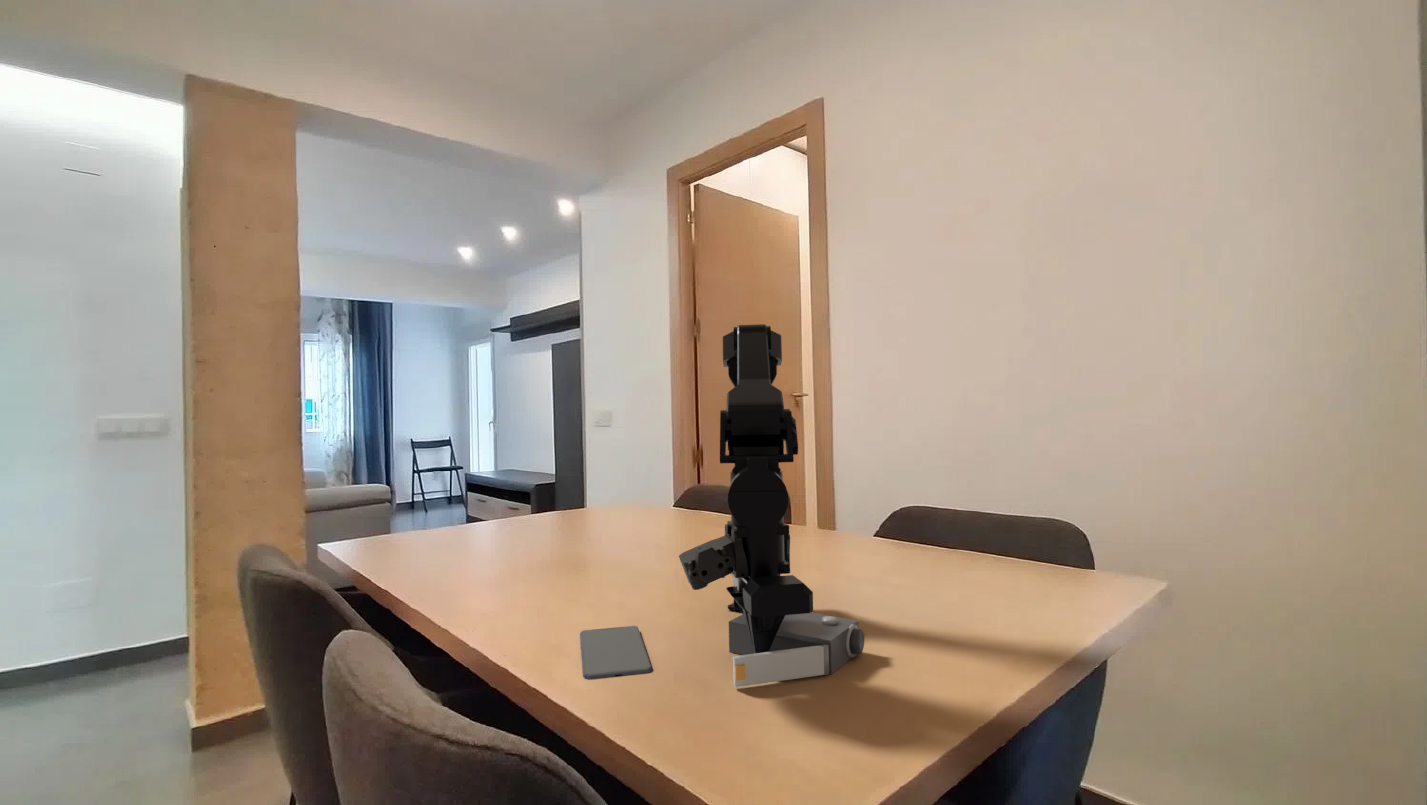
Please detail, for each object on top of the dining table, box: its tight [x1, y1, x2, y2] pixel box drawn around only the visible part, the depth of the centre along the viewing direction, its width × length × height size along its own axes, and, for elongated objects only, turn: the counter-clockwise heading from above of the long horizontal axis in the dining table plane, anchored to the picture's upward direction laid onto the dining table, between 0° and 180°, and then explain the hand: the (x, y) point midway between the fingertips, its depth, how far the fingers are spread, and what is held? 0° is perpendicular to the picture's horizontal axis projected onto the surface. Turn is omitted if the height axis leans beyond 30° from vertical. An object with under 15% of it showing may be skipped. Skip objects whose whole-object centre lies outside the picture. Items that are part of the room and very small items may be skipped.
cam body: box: [728, 612, 865, 676], centre depth 76 cm, size 14×8×4 cm, turn 56°
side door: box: [732, 644, 830, 688], centre depth 67 cm, size 11×1×3 cm, turn 106°
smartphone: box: [579, 625, 653, 680], centre depth 77 cm, size 8×1×15 cm
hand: (760, 657), depth 70 cm, fingers closed
